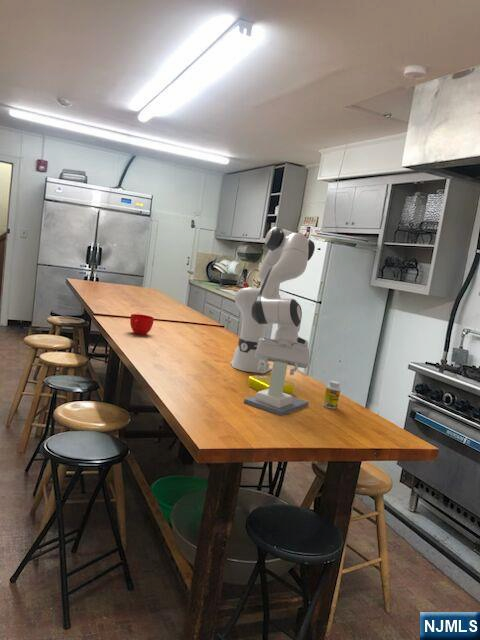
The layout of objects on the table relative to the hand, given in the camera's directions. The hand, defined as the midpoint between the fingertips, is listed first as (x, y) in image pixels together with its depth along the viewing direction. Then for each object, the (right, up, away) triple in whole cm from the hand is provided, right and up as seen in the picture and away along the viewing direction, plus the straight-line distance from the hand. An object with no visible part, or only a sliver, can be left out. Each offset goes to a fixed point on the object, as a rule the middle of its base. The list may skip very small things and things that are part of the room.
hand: (279, 371), depth 183 cm
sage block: (-1, -8, +2) cm, 9 cm away
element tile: (-2, -11, +25) cm, 27 cm away
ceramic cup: (-71, +11, +97) cm, 121 cm away
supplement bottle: (+21, -16, +14) cm, 30 cm away
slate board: (0, -13, +5) cm, 14 cm away
